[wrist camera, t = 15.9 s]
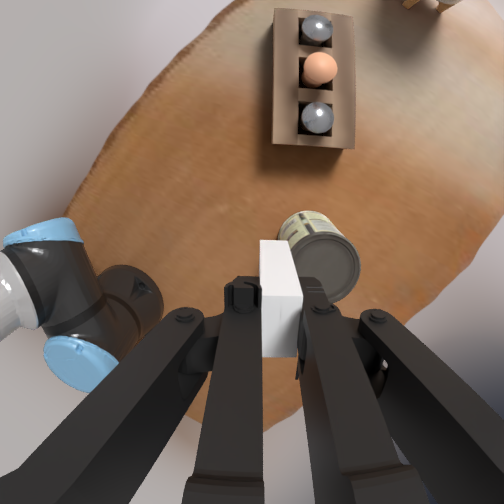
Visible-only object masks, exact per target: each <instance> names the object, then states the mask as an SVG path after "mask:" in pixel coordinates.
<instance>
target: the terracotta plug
mask: <svg viewBox="0 0 504 504" xmlns="http://www.w3.org/2000/svg"><path fill="white" fill-rule="evenodd" d="M336 74H337V64H336V62H335V60H334V59H333V58H332V57H331V56H330V55H328V54H326V53H322V52H316V53H313V54H311V55H309V56H308V57H307V59H306V61H305V63H304V71H303V73H302V76H301V79H302V82H303V83H304V85H306V86H307V87H309V88H317V87H319V86H320V85H321V84H322V83H327V82H329V81H331V80H332V79H333V78H334V77H335V76H336Z"/></svg>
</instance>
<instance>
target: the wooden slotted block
mask: <svg viewBox="0 0 504 504" xmlns="http://www.w3.org/2000/svg"><path fill="white" fill-rule="evenodd" d="M311 15H320V16H323V17H325V18H327V19H328V20H329V21H330V22H331V24H332V26H333V33H332V35H331V37H330V38H329V39H328V40H326V41H324V47H316V46H306V45H299V31H302V24H303V21H304V20H305V18H307V17H308V16H311ZM316 52H322V53H326V54H328V55H330V56H331V57H332V58H333V59H334V60H335V62H336V64H337V74H336V76H335V77H334V78H333V79H332V80H331V81H329V82H327V83H325V85H324V90H318V89H307V88H299V67H304V63H305V61H306V59H307V57H308V56H309V55H311V54H313V53H316ZM313 102H321V103H324V104H326V105H327V106H329V107H330V108H331V110H332V112H333V114H334V123H333V125H332V127H331V128H330V129H329V130H328V131H326V132H324V136H314V135H299V134H298V107H306V106H307V105H309V104H310V103H313ZM355 117H356V73H355V43H354V25H353V17H351V16H346V15H340V14H333V13H326V12H318V11H309V10H298V9H284V8H275V9H274V18H273V74H272V130H271V144H280V145H300V146H316V147H329V148H340V149H355Z"/></svg>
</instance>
